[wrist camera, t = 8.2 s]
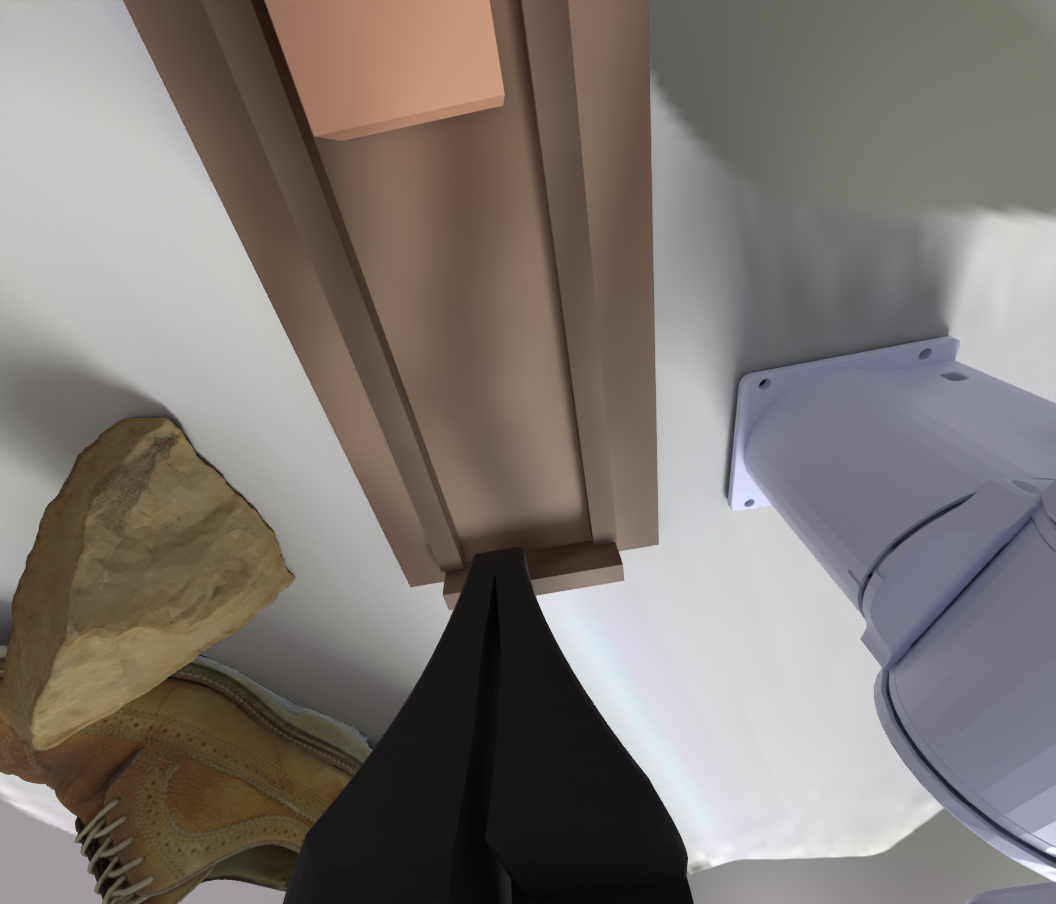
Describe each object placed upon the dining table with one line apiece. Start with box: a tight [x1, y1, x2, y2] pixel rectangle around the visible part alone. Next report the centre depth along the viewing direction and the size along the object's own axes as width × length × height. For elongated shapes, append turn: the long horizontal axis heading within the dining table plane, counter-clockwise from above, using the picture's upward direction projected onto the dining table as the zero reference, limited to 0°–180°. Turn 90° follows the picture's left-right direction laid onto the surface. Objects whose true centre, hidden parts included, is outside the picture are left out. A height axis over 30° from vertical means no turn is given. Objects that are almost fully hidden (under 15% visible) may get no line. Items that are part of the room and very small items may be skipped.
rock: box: [0, 417, 295, 752], centre depth 20 cm, size 11×9×10 cm
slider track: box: [123, 0, 659, 610], centre depth 17 cm, size 14×26×3 cm, turn 10°
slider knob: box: [265, 0, 505, 141], centre depth 11 cm, size 5×4×2 cm
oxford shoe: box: [0, 645, 373, 904], centre depth 27 cm, size 28×10×11 cm, turn 44°
